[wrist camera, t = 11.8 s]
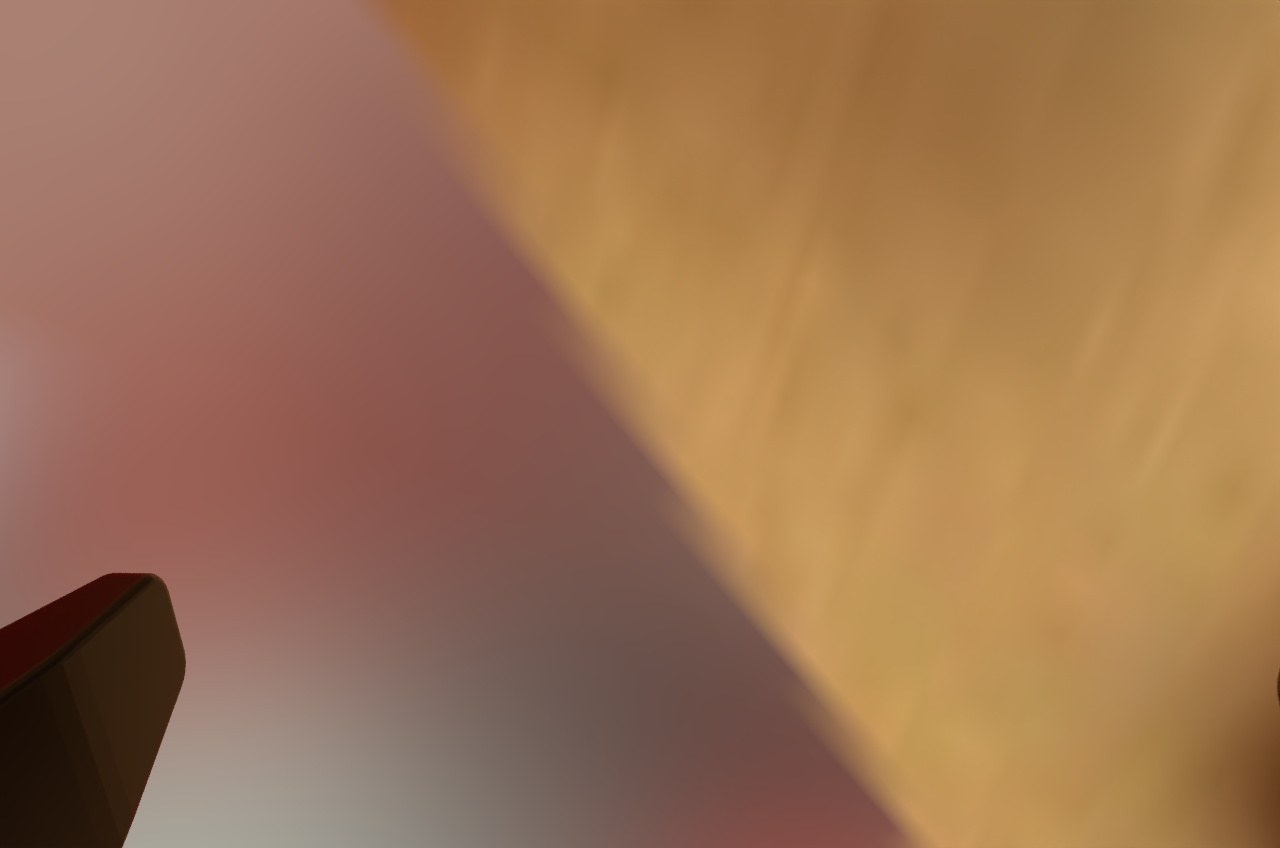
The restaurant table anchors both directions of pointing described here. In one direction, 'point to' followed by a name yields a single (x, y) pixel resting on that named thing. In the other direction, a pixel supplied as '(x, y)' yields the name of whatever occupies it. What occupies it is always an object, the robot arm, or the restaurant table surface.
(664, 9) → the restaurant table surface
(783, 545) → the restaurant table surface
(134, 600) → the robot arm
